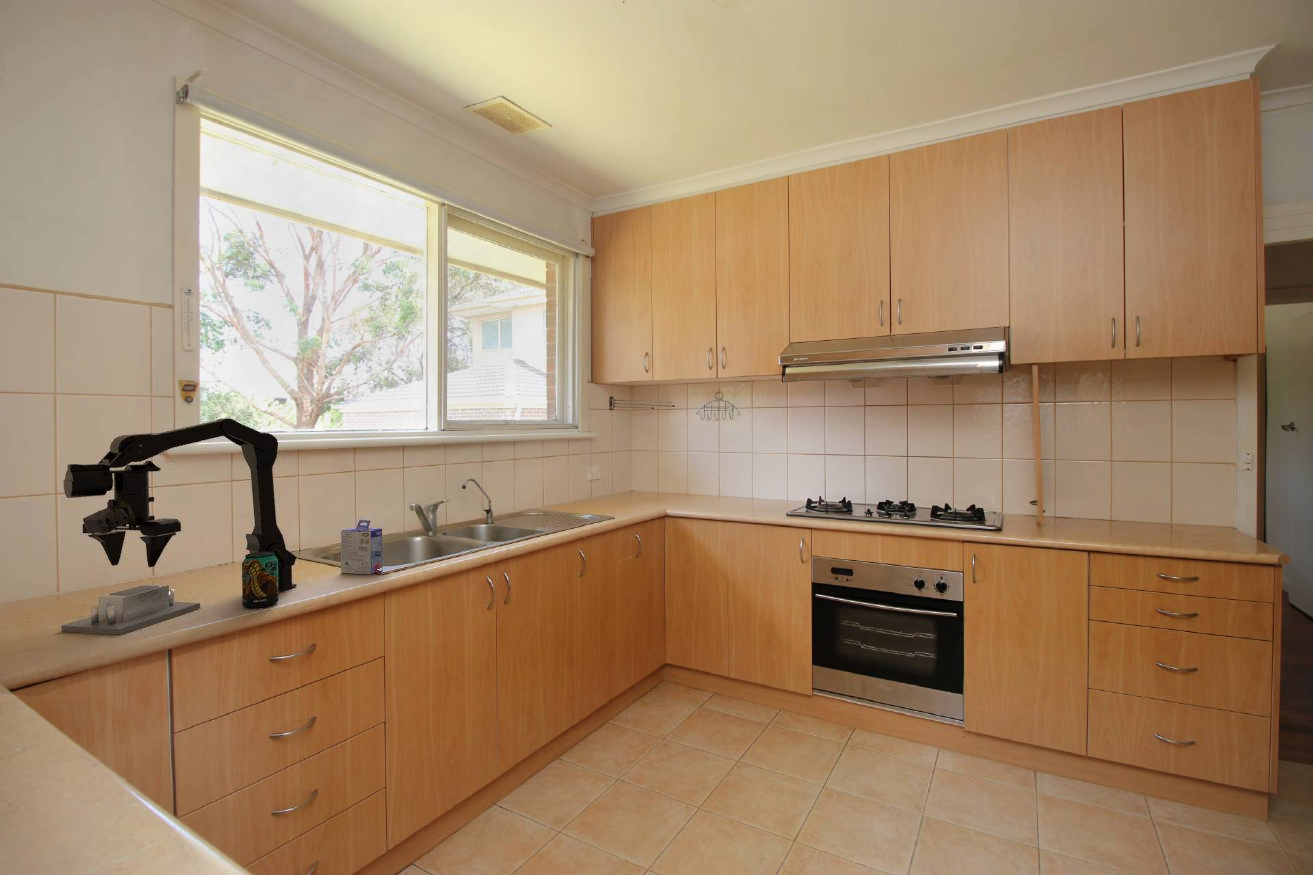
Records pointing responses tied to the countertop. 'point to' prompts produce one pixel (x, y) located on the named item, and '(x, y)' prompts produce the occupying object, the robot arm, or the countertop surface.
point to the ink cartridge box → (361, 549)
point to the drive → (135, 602)
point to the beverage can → (259, 580)
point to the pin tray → (119, 627)
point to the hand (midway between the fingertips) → (133, 566)
